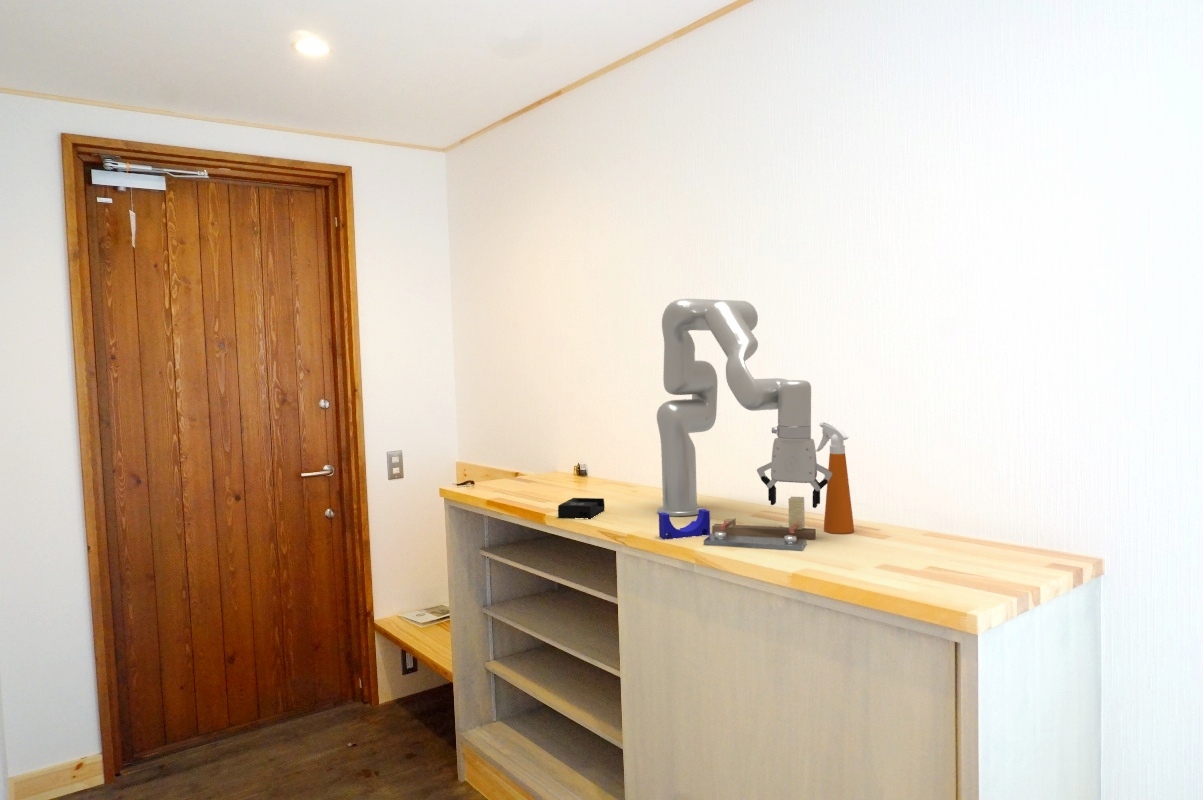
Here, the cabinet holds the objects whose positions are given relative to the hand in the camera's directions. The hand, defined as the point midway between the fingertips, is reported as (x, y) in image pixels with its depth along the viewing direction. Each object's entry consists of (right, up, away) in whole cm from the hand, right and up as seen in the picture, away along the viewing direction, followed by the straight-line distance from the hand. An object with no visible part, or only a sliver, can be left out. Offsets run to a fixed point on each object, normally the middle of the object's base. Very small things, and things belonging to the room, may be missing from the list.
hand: (793, 505), depth 184 cm
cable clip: (-25, -8, +6) cm, 27 cm away
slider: (0, -5, -3) cm, 6 cm away
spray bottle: (+11, -7, +7) cm, 15 cm away
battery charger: (-51, -8, +37) cm, 64 cm away
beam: (-8, -8, 0) cm, 11 cm away
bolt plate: (-10, -8, -6) cm, 14 cm away
